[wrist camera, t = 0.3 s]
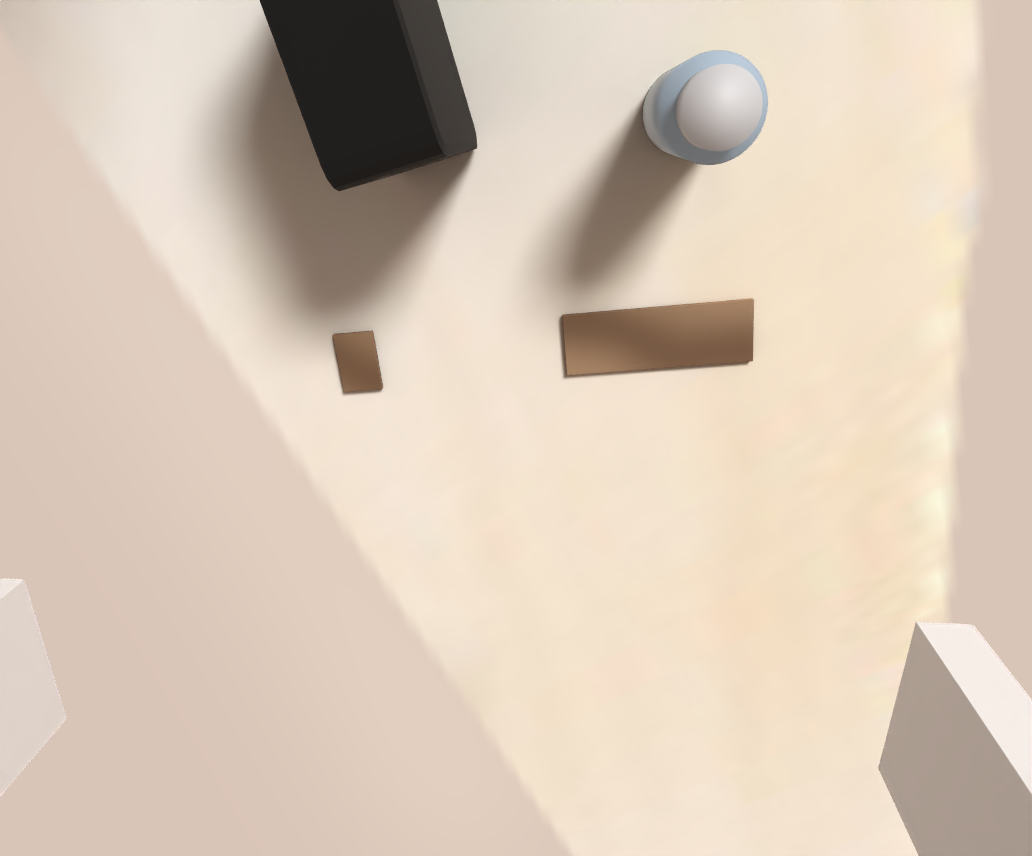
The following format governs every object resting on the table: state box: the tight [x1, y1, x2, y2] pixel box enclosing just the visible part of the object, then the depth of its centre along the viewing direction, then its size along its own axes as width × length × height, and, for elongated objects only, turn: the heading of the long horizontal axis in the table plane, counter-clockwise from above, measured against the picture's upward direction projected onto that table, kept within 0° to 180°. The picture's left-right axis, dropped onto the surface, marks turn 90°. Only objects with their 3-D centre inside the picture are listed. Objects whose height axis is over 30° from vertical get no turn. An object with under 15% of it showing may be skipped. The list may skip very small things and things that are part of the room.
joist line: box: [333, 299, 754, 392], centre depth 37 cm, size 3×20×1 cm, turn 96°
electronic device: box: [260, 0, 477, 191], centre depth 27 cm, size 4×10×10 cm, turn 17°
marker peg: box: [643, 50, 768, 165], centre depth 28 cm, size 4×4×9 cm
